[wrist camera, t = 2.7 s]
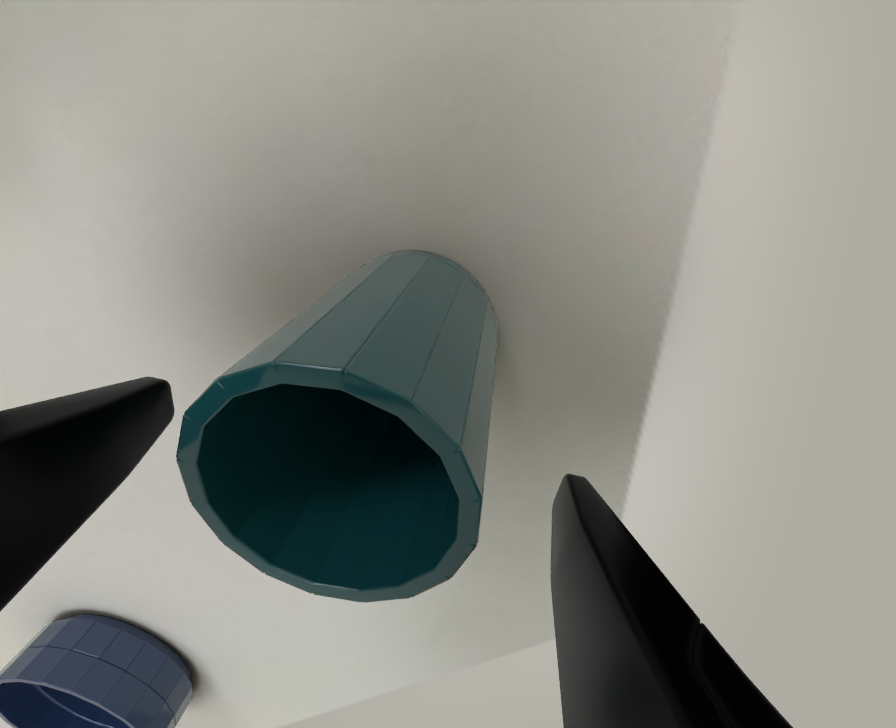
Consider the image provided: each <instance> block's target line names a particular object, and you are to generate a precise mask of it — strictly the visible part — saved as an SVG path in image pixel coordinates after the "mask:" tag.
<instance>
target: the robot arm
mask: <svg viewBox="0 0 896 728" xmlns="http://www.w3.org/2000/svg"><path fill="white" fill-rule="evenodd" d="M173 416H174V405H173V399H172V393H171V387H170V384H169V383H168V382H167V381H166V380H163V379H158V378H154V377H143V378H139V379H135V380H131V381H126V382H122V383H118V384H114V385H109V386H105V387H101V388H97V389H92V390H88V391H84V392H80V393H75V394H71V395H67V396H63V397H58V398H54V399H50V400H46V401H41V402H37V403H33V404H29V405H24V406H20V407H16V408H12V409H7V410H3V411H0V611H1V610H2V609H3V608H4V607H5V606H6V605H7V604H8V603H9V602H10V601H11V600H12V598H13V597H14V596H15V595H16V594H17V593H18V592H19V591H20V590H21V589H22V588H23V587H24V586H25V585H26V584H27V583H28V582H29V581H30V579H31V578H32V577H33V576H34V575H35V574H36V573H37V572H38V571H39V570H40V569H41V568H42V567H43V566H44V565H45V564H46V563H47V561H48V560H49V559H50V558H51V557H52V556H53V555H54V554H55V553H56V552H57V551H58V550H59V549H60V548H61V547H62V546H63V545H64V544H65V542H66V541H67V540H68V539H69V538H70V537H71V536H72V535H73V534H74V533H75V532H76V531H77V530H78V529H79V528H80V527H81V526H82V524H83V523H84V522H85V521H86V520H87V519H88V518H89V517H90V516H91V515H92V514H93V513H94V512H95V511H96V510H97V509H98V508H99V506H100V505H101V504H102V503H103V502H104V501H105V500H106V499H107V498H108V497H109V496H110V495H111V494H112V493H113V492H114V491H115V490H116V489H117V487H118V486H119V485H120V484H121V483H122V482H123V481H124V480H125V479H126V478H127V476H128V475H129V474H130V473H131V472H132V470H133V469H134V468H135V467H136V466H137V464H138V463H139V462H140V460H141V459H142V458H143V457H144V455H145V454H146V453H147V451H148V450H149V449H150V448H151V446H152V445H153V444H154V442H155V441H156V440H157V439H158V437H159V436H160V435H161V434H162V432H163V431H164V430H165V428H166V427H167V426H168V425H169V423H170V422H171V420H172V418H173ZM551 592H552V603H553V614H554V625H555V636H556V646H557V658H558V669H559V680H560V691H561V701H562V713H563V723H564V728H793V727H792V726H791V725H790V724H789V723H788V722H787V721H786V719H785V718H784V717H783V716H782V715H781V714H780V713H779V712H778V711H777V710H776V708H775V707H774V706H773V705H772V704H771V703H770V702H769V701H768V699H767V698H766V697H765V696H764V695H763V694H762V693H761V692H760V690H759V689H758V688H757V687H756V686H755V685H754V684H753V683H752V681H751V680H750V679H749V678H748V677H747V676H746V675H745V673H744V672H743V671H742V670H741V669H740V667H739V666H738V665H737V664H736V663H735V661H734V660H733V659H732V658H731V657H730V655H729V654H728V653H727V652H726V651H725V649H724V648H723V647H722V646H721V645H720V644H719V642H718V641H717V640H716V638H715V637H714V636H713V635H712V634H711V632H710V631H709V630H708V629H707V627H706V626H705V625H704V624H702V623H700V619H699V618H698V617H697V615H696V614H695V613H694V611H693V610H692V609H691V608H690V607H689V605H688V604H687V603H686V602H685V600H684V599H683V598H682V597H681V595H680V594H679V593H678V592H677V591H676V589H675V588H674V587H673V586H672V584H671V583H670V582H669V580H668V579H667V578H666V577H665V576H664V574H663V573H662V572H661V571H660V569H659V568H658V567H657V566H656V564H655V563H654V562H653V561H652V559H651V558H650V557H649V556H648V554H647V553H646V552H645V551H644V550H643V548H642V547H641V546H640V545H639V543H638V542H637V541H636V540H635V538H634V537H633V536H632V535H631V533H630V532H629V531H628V530H627V528H626V527H625V526H624V525H623V523H622V522H621V521H620V520H619V519H618V517H617V516H616V515H615V514H614V512H613V511H612V510H611V509H610V507H609V506H608V505H607V504H606V502H605V501H604V500H603V499H602V497H601V496H600V495H599V494H598V493H597V491H596V490H595V489H594V488H593V486H592V485H591V484H590V483H589V481H588V480H587V479H586V478H584V477H582V476H577V475H573V474H566V475H565V476H564V477H563V480H562V482H561V484H560V487H559V489H558V492H557V494H556V497H555V499H554V502H553V508H552V535H551Z"/></svg>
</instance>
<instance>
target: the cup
mask: <svg viewBox="0 0 896 728" xmlns="http://www.w3.org/2000/svg"><path fill="white" fill-rule="evenodd" d="M497 338H498V330H497V321H496V316H495V312H494V309H493V306H492V304H491V302H490V299H489V297H488V296H487V294H486V292H485V290H484V289H483V288H482V286H481V285H480V284H479V282H478V281H477V280H476V279H475V278H474V277H473V276H472V275H471V274H470V273H469V272H468V271H466V270H465V269H464V268H462V267H461V266H460V265H458V264H456V263H455V262H453V261H451V260H449V259H447V258H444V257H442V256H440V255H436V254H433V253H429V252H423V251H398V252H393V253H389V254H385V255H383V256H380V257H378V258H376V259H374V260H372V261H371V262H369V263H367V264H364V265H363V266H361V267H360V268H358V269H357V270H356V271H355V272H353V273H352V274H351V275H349V276H348V277H347V278H346V279H344V280H343V281H342V282H340V283H339V284H338V285H337V286H335V287H334V288H333V289H331V290H330V291H329V292H328V293H326V294H325V295H324V296H322V297H321V298H320V299H318V300H317V301H316V302H315V303H313V304H312V305H311V306H309V307H308V308H307V309H306V310H304V311H303V312H302V313H300V314H299V315H298V316H297V317H295V318H294V319H293V320H291V321H290V322H289V323H288V324H286V325H285V326H284V327H282V328H281V329H280V330H278V331H277V332H276V333H275V334H273V335H272V336H271V337H269V338H268V339H267V340H266V341H264V342H263V343H262V344H260V345H259V346H258V347H257V348H255V349H254V350H253V351H251V352H250V353H249V354H247V355H246V356H245V357H244V358H242V359H241V360H240V361H238V362H237V363H236V364H235V365H233V366H232V367H231V368H229V369H228V370H227V371H226V372H224V373H223V374H222V375H220V376H219V377H218V378H217V379H215V380H214V381H213V383H212V384H211V385H210V386H209V387H208V388H207V389H206V390H205V391H204V392H203V393H202V394H201V395H200V396H199V397H198V398H197V400H196V401H195V402H194V403H193V404H192V405H191V406H190V407H189V408H188V409H187V410H186V411H185V414H184V415H183V420H182V426H181V431H180V437H179V443H178V449H177V455H176V458H177V464H178V467H179V470H180V473H181V476H182V479H183V482H184V485H185V488H186V491H187V494H188V497H189V500H190V502H191V503H192V506H193V507H194V508H195V509H196V511H197V512H198V513H199V515H200V516H201V517H202V518H203V520H204V521H205V522H206V523H207V525H208V526H209V527H210V528H211V530H212V531H213V532H214V533H215V535H216V536H217V537H218V539H219V540H220V541H221V542H223V544H224V545H226V546H227V547H228V548H230V549H231V550H232V551H234V552H235V553H236V554H238V555H239V556H241V557H242V558H243V559H245V560H246V561H247V562H249V563H250V564H251V565H253V566H254V567H256V568H257V569H258V570H260V571H261V572H262V573H265V574H266V575H268V576H271V577H273V578H275V579H278V580H280V581H282V582H285V583H287V584H290V585H292V586H294V587H297V588H299V589H301V590H304V591H306V592H309V593H313V594H315V595H320V596H326V597H332V598H338V599H344V600H350V601H356V602H375V601H385V600H395V599H405V598H410V597H414V596H416V595H418V594H420V593H422V592H424V591H426V590H429V589H431V588H433V587H435V586H437V585H439V584H441V583H443V582H445V581H447V580H449V579H450V578H452V577H453V575H454V574H455V573H456V572H457V570H458V569H459V568H460V567H461V565H462V564H463V563H464V561H465V560H466V559H467V558H468V556H469V555H470V554H471V552H472V551H473V550H474V549H475V547H476V546H477V543H478V538H479V529H480V520H481V510H482V501H483V490H484V480H485V469H486V458H487V447H488V436H489V425H490V414H491V403H492V392H493V381H494V370H495V360H496V349H497Z"/></svg>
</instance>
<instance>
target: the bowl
mask: <svg viewBox="0 0 896 728" xmlns="http://www.w3.org/2000/svg"><path fill="white" fill-rule="evenodd" d="M191 699H192V684H191V675H190V672H189V669H188V668H187V666H186V664H185V663H184V662H183V660H182V659H181V658H180V657H179V656H178V655H177V654H176V653H175V652H174V651H173V650H172V649H171V648H170V647H168V646H167V645H166V644H164V643H163V642H162V641H160V640H159V639H157V638H156V637H154V636H152V635H151V634H149V633H147V632H145V631H143V630H141V629H139V628H137V627H135V626H132V625H130V624H127V623H125V622H122V621H119V620H115V619H112V618H108V617H104V616H98V615H87V614H83V615H74V616H70V617H68V618H65V619H63V620H56V621H53V622H51V623H50V624H48V625H47V626H45V627H43V628H42V629H41V630H40V631H39V632H38V633H37V634H36V635H35V636H34V637H33V638H32V639H31V640H30V642H29V643H28V644H27V645H26V646H25V647H24V648H23V649H22V650H21V651H20V652H19V653H18V654H17V655H16V656H15V657H14V658H13V659H12V660H11V661H10V662H9V663H8V664H7V665H6V666H5V667H4V668H3V669H2V670H1V671H0V717H1V718H2V719H3V720H4V721H5V722H6V723H8V724H9V725H11V726H12V727H14V728H175V726H176V725H177V723H178V721H179V719H180V718H181V716H182V714H183V713H184V711H185V709H186V708H187V706H188V704H189V702H190V701H191Z"/></svg>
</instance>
